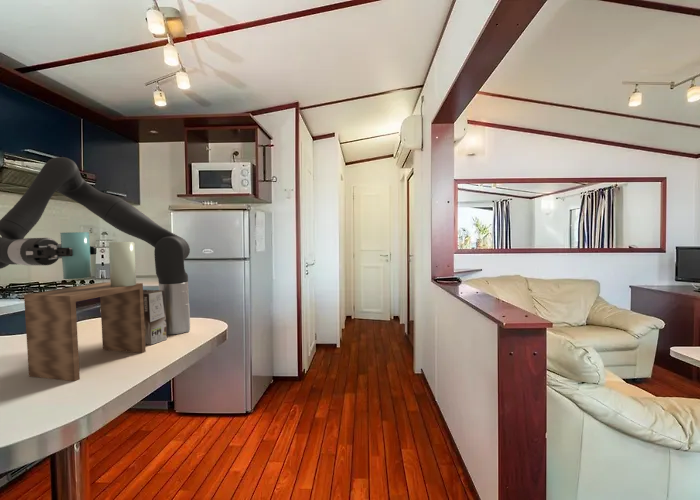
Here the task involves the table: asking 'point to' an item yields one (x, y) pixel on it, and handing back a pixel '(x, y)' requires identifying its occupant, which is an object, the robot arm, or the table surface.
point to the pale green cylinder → (122, 264)
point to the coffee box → (154, 316)
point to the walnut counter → (61, 326)
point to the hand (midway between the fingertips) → (83, 251)
